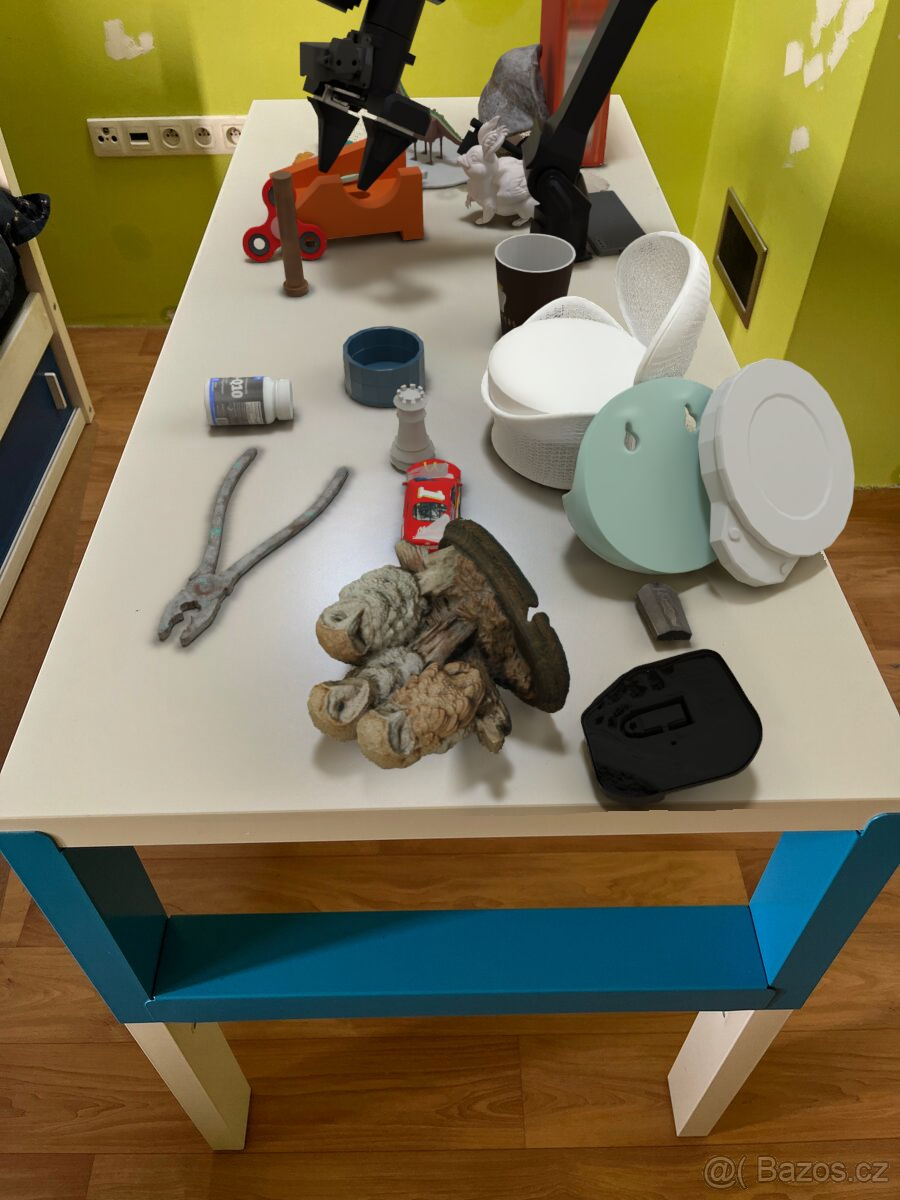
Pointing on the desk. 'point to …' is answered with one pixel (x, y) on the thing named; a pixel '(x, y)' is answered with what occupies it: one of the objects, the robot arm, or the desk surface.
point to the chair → (593, 356)
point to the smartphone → (611, 224)
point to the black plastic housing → (670, 728)
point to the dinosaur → (436, 152)
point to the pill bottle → (247, 400)
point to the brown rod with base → (289, 234)
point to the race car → (430, 502)
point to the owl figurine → (436, 651)
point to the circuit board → (513, 140)
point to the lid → (773, 470)
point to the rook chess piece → (411, 429)
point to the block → (663, 612)
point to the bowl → (382, 364)
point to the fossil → (515, 91)
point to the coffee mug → (531, 275)
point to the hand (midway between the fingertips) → (341, 180)
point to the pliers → (213, 588)
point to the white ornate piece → (472, 140)
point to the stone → (594, 182)
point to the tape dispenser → (358, 197)
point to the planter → (644, 481)
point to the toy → (272, 236)
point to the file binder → (571, 60)
